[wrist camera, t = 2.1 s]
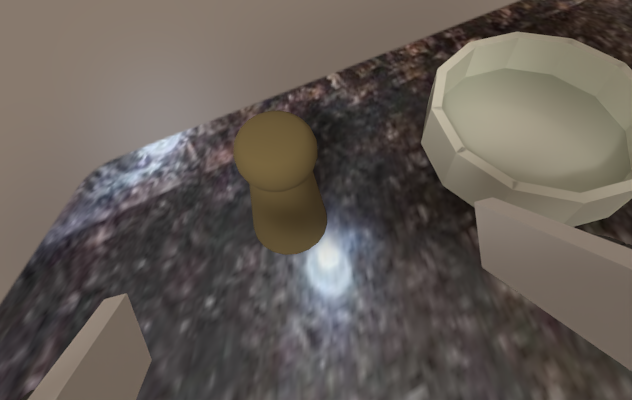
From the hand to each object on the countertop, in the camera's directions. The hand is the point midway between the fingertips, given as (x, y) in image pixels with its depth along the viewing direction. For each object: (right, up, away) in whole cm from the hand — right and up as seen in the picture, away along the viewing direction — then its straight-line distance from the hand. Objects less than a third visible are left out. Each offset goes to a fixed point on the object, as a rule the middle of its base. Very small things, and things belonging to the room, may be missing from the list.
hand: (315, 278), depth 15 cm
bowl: (+19, +8, +21) cm, 29 cm away
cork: (-2, +1, +18) cm, 18 cm away
